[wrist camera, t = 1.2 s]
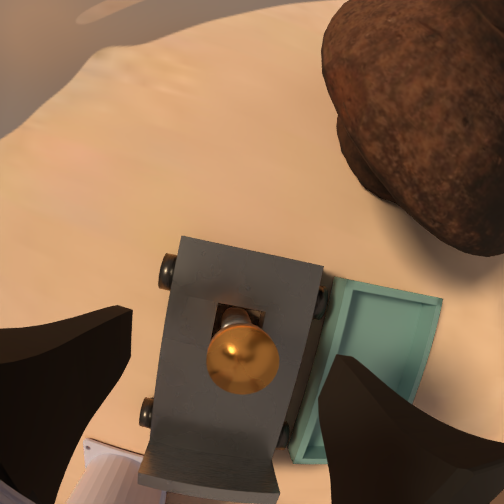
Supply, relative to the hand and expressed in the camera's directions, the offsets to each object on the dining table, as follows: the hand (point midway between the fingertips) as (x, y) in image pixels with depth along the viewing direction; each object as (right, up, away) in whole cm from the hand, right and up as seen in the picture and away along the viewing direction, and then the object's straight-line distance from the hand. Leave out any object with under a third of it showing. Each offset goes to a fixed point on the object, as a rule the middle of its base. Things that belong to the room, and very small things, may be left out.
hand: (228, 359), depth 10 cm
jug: (+14, +13, +13) cm, 23 cm away
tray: (+10, -6, +12) cm, 17 cm away
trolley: (-1, -4, +12) cm, 12 cm away
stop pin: (0, -1, +12) cm, 12 cm away
